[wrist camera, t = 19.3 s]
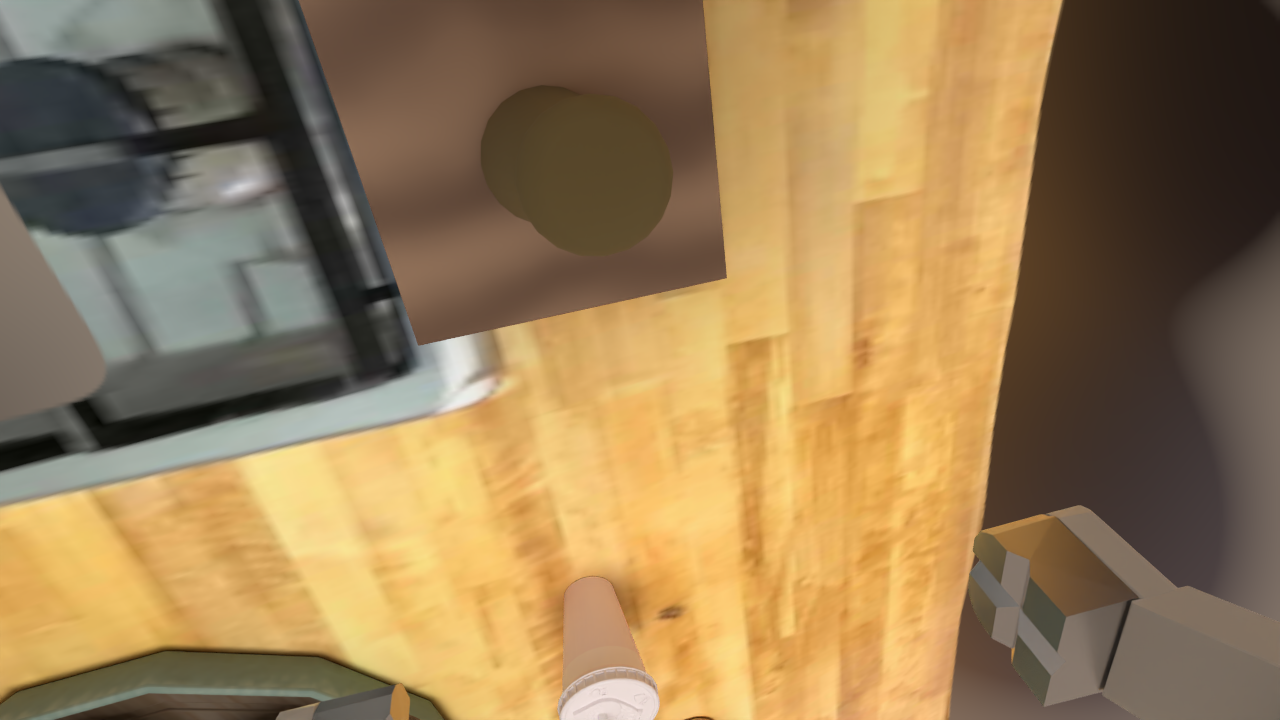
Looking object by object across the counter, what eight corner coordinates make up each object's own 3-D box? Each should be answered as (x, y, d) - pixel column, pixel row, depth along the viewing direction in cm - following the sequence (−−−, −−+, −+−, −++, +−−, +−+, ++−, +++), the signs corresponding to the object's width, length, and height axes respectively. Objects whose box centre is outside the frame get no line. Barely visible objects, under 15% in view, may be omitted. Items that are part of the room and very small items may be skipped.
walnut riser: (317, -17, 32) (294, -12, 28) (667, -75, 34) (695, -79, 29) (424, 303, 40) (418, 345, 36) (700, 244, 42) (726, 277, 38)
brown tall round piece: (470, 90, 31) (495, 84, 21) (609, 80, 32) (695, 71, 22) (490, 232, 33) (521, 291, 23) (620, 217, 34) (702, 266, 24)
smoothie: (556, 559, 51) (582, 747, 39) (642, 565, 53) (692, 746, 41) (536, 623, 54) (554, 817, 42) (618, 627, 56) (658, 813, 44)
